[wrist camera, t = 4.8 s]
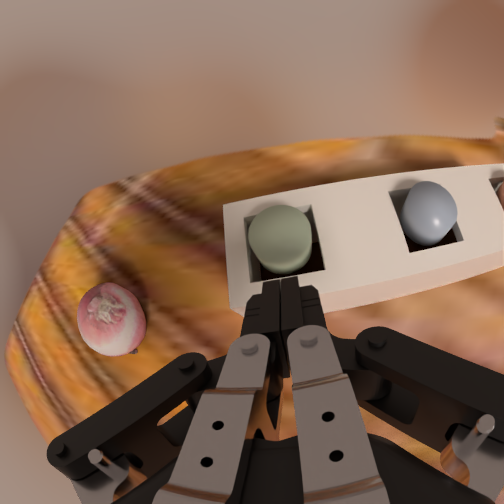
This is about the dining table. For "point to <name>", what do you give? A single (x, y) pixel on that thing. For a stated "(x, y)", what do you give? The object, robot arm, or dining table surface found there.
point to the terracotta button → (501, 194)
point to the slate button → (428, 213)
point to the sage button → (281, 239)
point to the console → (375, 237)
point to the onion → (111, 320)
